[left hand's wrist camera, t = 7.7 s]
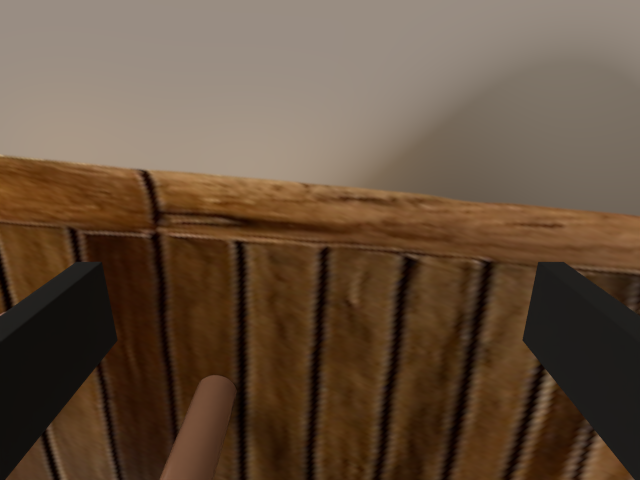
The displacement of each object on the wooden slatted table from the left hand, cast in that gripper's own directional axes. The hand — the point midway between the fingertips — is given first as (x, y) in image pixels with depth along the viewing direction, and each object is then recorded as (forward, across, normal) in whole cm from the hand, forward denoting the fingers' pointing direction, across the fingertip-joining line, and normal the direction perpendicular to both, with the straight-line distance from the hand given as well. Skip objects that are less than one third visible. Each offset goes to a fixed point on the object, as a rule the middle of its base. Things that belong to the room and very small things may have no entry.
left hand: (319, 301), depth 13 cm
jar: (+28, +12, +27) cm, 41 cm away
